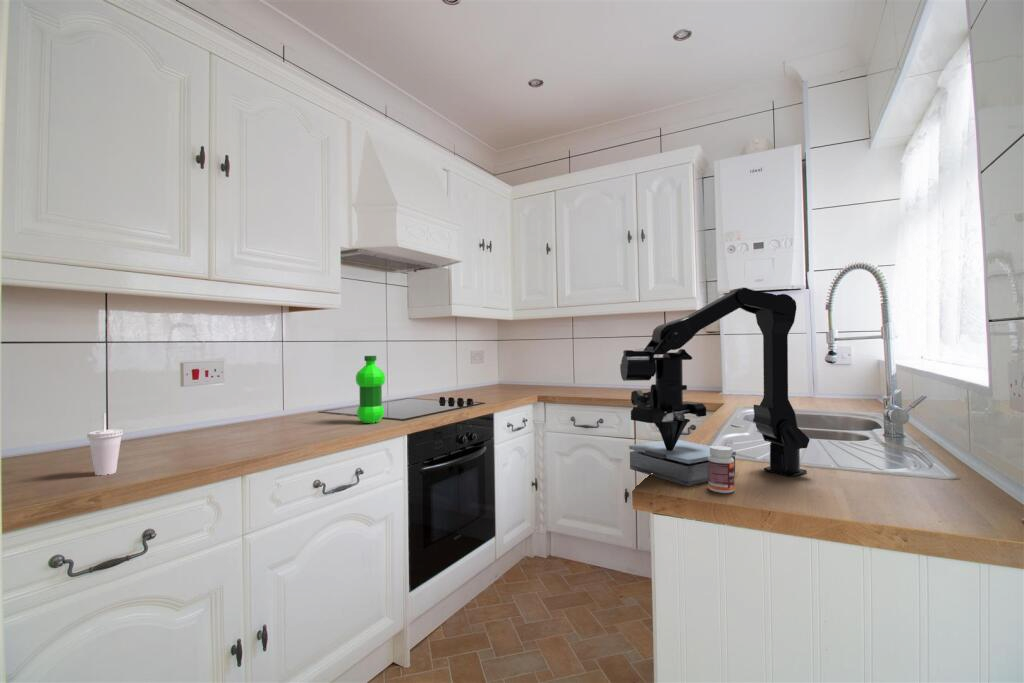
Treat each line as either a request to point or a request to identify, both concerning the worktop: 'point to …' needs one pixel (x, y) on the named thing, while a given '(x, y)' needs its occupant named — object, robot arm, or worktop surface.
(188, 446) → the worktop surface
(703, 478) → the grey lidded case
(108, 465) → the smoothie
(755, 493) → the worktop surface
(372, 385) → the plastic bottle
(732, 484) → the pill bottle
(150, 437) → the worktop surface
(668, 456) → the lid
